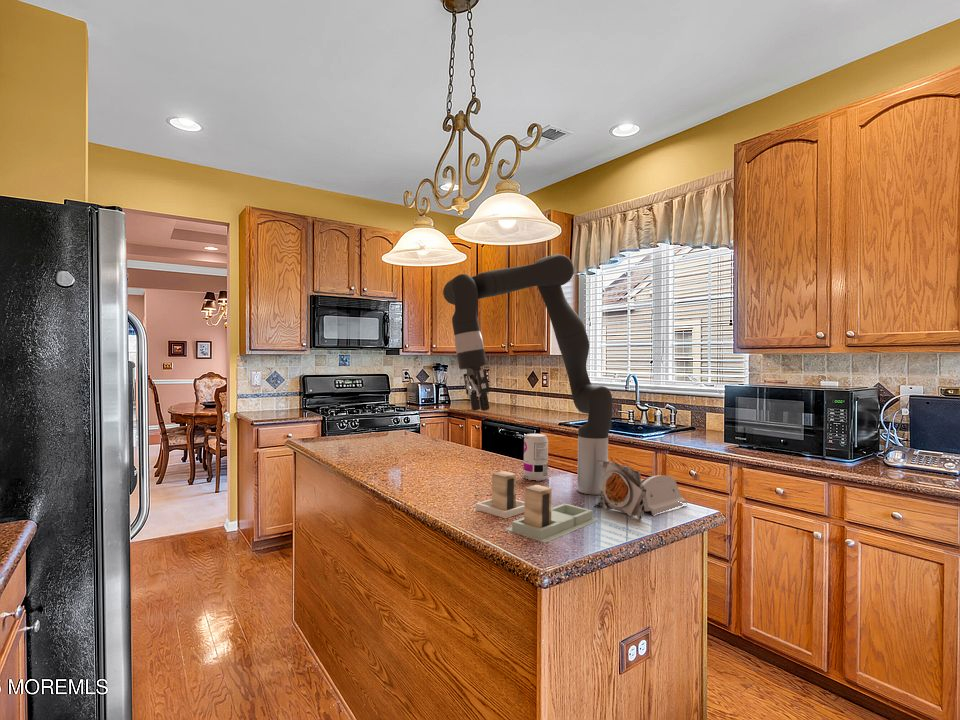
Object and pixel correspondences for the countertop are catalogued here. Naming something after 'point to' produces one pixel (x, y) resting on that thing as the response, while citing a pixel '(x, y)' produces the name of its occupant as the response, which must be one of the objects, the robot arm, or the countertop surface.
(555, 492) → the countertop surface
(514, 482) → the block
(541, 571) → the countertop surface
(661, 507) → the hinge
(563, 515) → the green slotted tray
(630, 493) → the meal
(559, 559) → the countertop surface
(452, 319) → the robot arm
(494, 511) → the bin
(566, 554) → the countertop surface
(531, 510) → the block
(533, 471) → the supplement can
